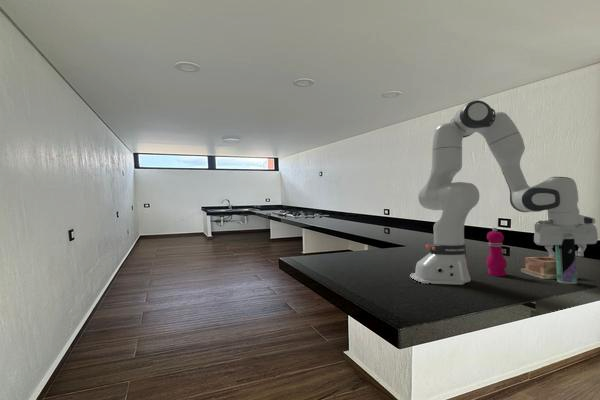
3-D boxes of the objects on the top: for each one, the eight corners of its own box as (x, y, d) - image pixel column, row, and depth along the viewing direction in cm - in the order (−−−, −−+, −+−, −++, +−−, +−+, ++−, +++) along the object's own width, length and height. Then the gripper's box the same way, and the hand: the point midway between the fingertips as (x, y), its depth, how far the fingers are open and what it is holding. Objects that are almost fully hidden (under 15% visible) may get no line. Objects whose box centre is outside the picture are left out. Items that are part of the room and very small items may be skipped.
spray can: (573, 285, 106) (569, 229, 106) (554, 281, 110) (551, 228, 111) (579, 282, 108) (576, 228, 109) (561, 279, 113) (558, 227, 114)
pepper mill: (501, 272, 128) (498, 226, 128) (511, 276, 121) (508, 227, 121) (483, 272, 128) (481, 227, 129) (492, 276, 121) (490, 228, 122)
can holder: (543, 278, 115) (542, 262, 115) (520, 271, 128) (520, 256, 128) (578, 278, 114) (577, 261, 114) (552, 271, 127) (551, 256, 127)
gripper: (540, 221, 108) (543, 259, 107) (600, 218, 106) (603, 257, 106) (528, 220, 114) (530, 256, 114) (584, 218, 112) (587, 254, 112)
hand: (566, 256), depth 110 cm, fingers open, 8 cm apart
